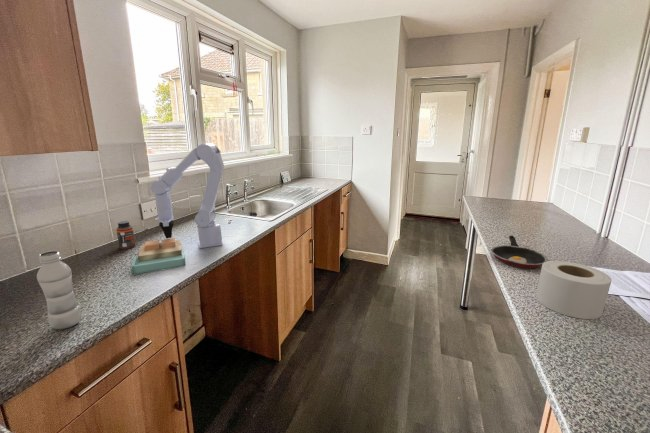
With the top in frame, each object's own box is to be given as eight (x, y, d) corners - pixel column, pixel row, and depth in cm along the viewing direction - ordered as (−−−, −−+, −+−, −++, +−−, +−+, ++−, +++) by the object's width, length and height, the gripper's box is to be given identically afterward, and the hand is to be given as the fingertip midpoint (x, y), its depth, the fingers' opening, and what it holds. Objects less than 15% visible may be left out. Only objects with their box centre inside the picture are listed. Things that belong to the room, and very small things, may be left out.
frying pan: (491, 266, 114) (492, 257, 113) (486, 239, 142) (488, 232, 141) (551, 276, 106) (553, 266, 105) (534, 246, 134) (536, 238, 133)
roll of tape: (528, 287, 98) (535, 257, 95) (586, 295, 94) (594, 263, 91) (545, 314, 84) (554, 278, 81) (614, 324, 79) (625, 287, 77)
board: (181, 245, 134) (180, 239, 133) (181, 255, 122) (181, 250, 122) (142, 250, 127) (141, 245, 127) (139, 262, 116) (138, 256, 115)
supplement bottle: (128, 249, 128) (123, 224, 125) (116, 248, 130) (111, 223, 126) (139, 244, 134) (134, 220, 131) (127, 244, 135) (123, 219, 132)
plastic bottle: (63, 318, 81) (44, 249, 76) (89, 317, 82) (73, 248, 77) (43, 333, 75) (22, 259, 70) (72, 332, 76) (53, 258, 70)
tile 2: (175, 242, 130) (174, 238, 129) (175, 246, 126) (174, 241, 125) (162, 244, 128) (161, 239, 127) (162, 248, 124) (161, 243, 123)
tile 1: (159, 244, 127) (159, 240, 127) (159, 248, 123) (158, 244, 123) (146, 246, 125) (145, 242, 125) (145, 250, 121) (144, 246, 120)
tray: (184, 255, 122) (183, 248, 122) (185, 265, 113) (184, 258, 113) (135, 263, 115) (134, 256, 114) (132, 274, 106) (131, 266, 105)
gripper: (154, 205, 134) (159, 234, 137) (152, 212, 121) (157, 244, 125) (172, 203, 137) (176, 231, 140) (172, 210, 124) (176, 241, 128)
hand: (168, 237), depth 133 cm, fingers closed
